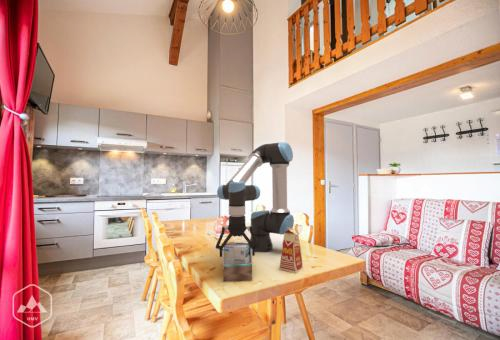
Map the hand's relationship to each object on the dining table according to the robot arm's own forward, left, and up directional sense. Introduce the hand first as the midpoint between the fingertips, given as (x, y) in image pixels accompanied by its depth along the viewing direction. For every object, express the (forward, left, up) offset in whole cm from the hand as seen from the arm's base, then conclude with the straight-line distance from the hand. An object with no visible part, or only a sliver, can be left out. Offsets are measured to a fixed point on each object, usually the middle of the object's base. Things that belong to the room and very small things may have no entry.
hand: (237, 263), depth 111 cm
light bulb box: (0, 0, -2) cm, 2 cm away
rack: (0, -7, -5) cm, 8 cm away
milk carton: (-26, -5, -5) cm, 27 cm away
